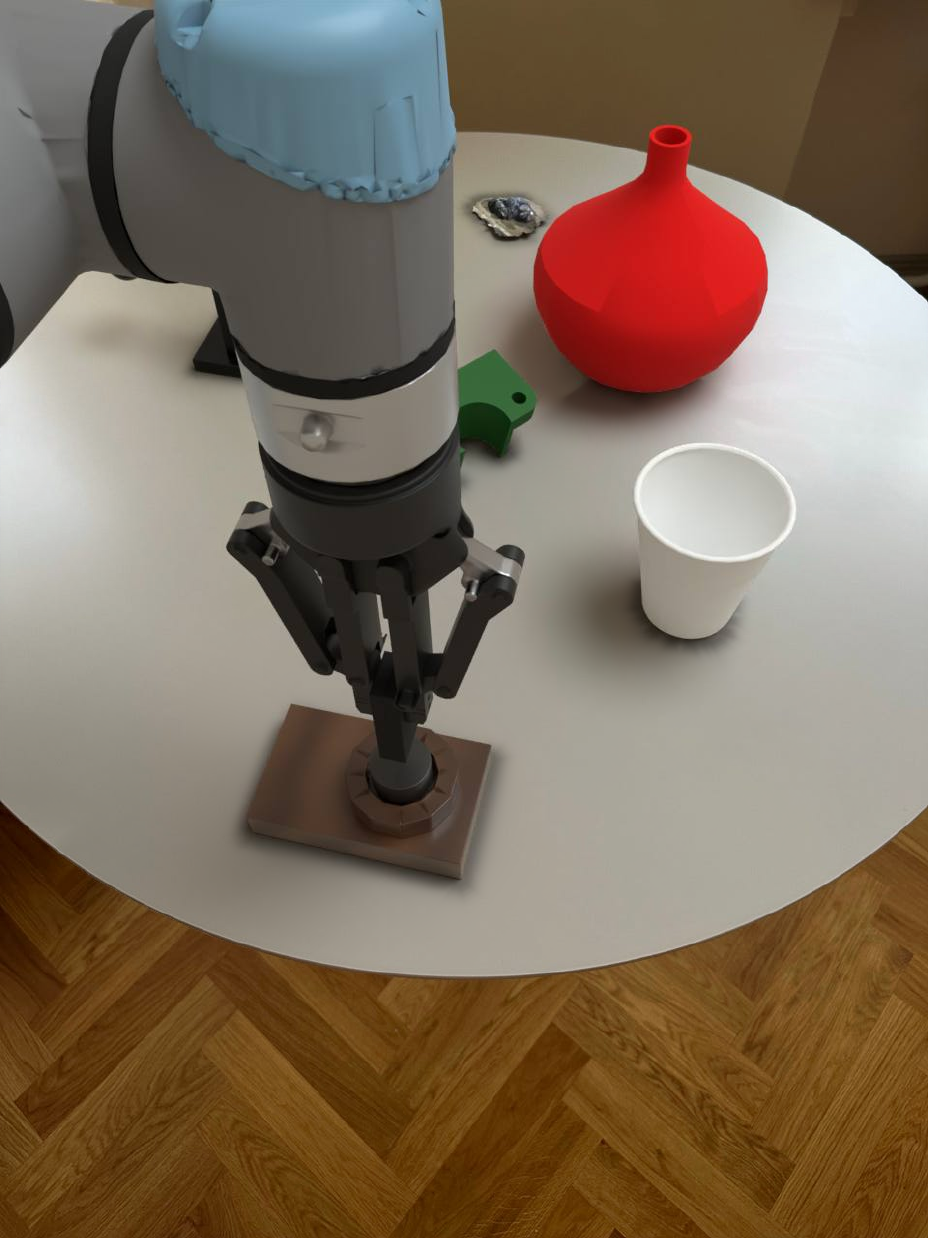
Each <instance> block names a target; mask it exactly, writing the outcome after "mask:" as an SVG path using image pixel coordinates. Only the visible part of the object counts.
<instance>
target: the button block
mask: <svg viewBox="0 0 928 1238" xmlns="http://www.w3.org/2000/svg"><path fill="white" fill-rule="evenodd" d="M414 737H416V738H418V739H419V740H421V741H422V742H423V743H424V744H425V745H426V746H427V747H428V749H429V751H430V753H431V757H432V770H433V778H432V782H431V785H430V787H429V789H428V790H427V791H426V792H425V793H424V794H423V795H422V796H421V797H419V798H418V799H416V800H414V801H411V802H407V803H395V802H391V801H388V800H386V799H384V798H383V797H381V796H380V795H379V794H378V793H377V792H376V790H375V789H374V787H373V784H372V780H371V774H370V768H369V759H370V755H371V753H372V751H373V749H374V748H375V746H376V745H377V738H376V732H375V726H374V721H373V719H368V718H364V717H358V716H354V715H348V714H344V713H339V712H334V711H330V710H329V711H328V710H324V709H320V708H315V707H309V706H305V705H299V704H295V703H290V705H289V707H288V710H287V712H286V715H285V717H284V720H283V723H282V725H281V728H280V731H279V732H278V735H277V738H276V740H275V743H274V745H273V748H272V750H271V753H270V755H269V758H268V761H267V763H266V766H265V768H264V769H263V774H262V776H261V778H260V780H259V783H258V785H257V788H256V791H255V793H254V795H253V799H252V800H251V803H250V806H249V809H248V811H247V814H246V819H247V821H248V824H249V827H250V829H251V832H252V833H255V834H259V835H265V836H268V837H272V838H273V837H274V838H277V839H281V840H286V841H291V842H295V843H298V844H303V845H308V846H312V847H316V848H321V849H325V850H330V851H335V852H339V853H343V854H346V855H347V854H348V855H352V856H356V857H360V858H366V859H370V860H375V861H379V862H383V863H387V864H392V865H396V866H401V867H404V868H405V867H406V868H410V869H414V870H419V871H421V872H427V873H431V874H436V875H440V876H445V877H449V878H454V879H458V880H462V878H463V875H464V870H465V866H466V862H467V859H468V856H469V855H468V854H469V851H470V846H471V843H472V839H473V835H474V832H475V827H476V823H477V820H478V815H479V812H480V807H481V804H482V801H483V795H484V792H485V788H486V785H487V780H488V777H489V773H490V768H491V764H492V744H489V743H486V742H485V743H484V742H479V741H476V740H470V739H466V738H461V737H455V736H451V735H446V734H441V733H436V732H435V731H434V730H432V729H431V728H428V727H423V726H419V725H418V726H417V729H416V732H415V735H414Z"/></svg>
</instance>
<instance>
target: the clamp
mask: <svg viewBox="0 0 928 1238" xmlns="http://www.w3.org/2000/svg"><path fill="white" fill-rule="evenodd" d="M458 389H459V412H458V417H457V419H458V422H459V434H460V440H462V439H478V440H480V441H483V442H485V443H487V444H489V445H490V446H491V447H492V448H493V449H494V450H495V451H496V453H498V455H499V457H500V458H502V457H503V456H505V455H507V451H508V449H509V445H510V442H511V440H512V439H511V438H512V436H513V433H514V430H516V429H518V428H519V427H521V426H522V425H524V424H526V423H528V422H529V421H530V420H531V419H532V417H533V416H534V412H535V409H536V406H537V404H538V396H537V394H536V392H535V390H534V389H533V388H532V387H531V386H530V385H529V384H528V383H527V382H526V381H525V379H524V378H522V376H520V374H519V373H518V372H517V371H516V370H515V369H514V368H513V367H512V366H511V365H510V363H508V361H506V359H505V358H504V357H503V356H502V355H501V354H500V353H499V352H498V351H497V350H496V348H493V349H491V350H490V351H488V352H486V353H484V354H482V355H481V356H479V357H477V358H475V359H473V360H472V361H470V362H468V363H466V364H464V365H463V366H462V367H458ZM465 455H466V449H465V448H463V447H462V446H460V470H461V469H462V465H463V461H464V457H465Z"/></svg>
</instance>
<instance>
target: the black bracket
mask: <svg viewBox="0 0 928 1238" xmlns="http://www.w3.org/2000/svg"><path fill="white" fill-rule="evenodd" d="M210 290H211V294H212V297H213V301H214V306H215V310H216V314H217V317H216V319H215V320H214V322H213V324H212V325H211V328H210V329H209V331H208V332H207V335H206V336H205V337H204V339H203V341H202V342H201V345H200V346H199V347H198V350H197V351H196V353H195V354H194V356H193V358H192V364H193V367H194V370H195V371H197V372H203V373H209V374H216V375H222V376H228V377H235V378H240V379H242V376H241V372H240V367H239V363H238V359H237V355H236V351H235V348H234V344H233V339H232V335H231V333H230V330H229V326H228V322H227V319H226V315H225V311H224V307H223V304H222V301H221V298H220V295H219V293H218V292H216V291H214V290H213V289H211V288H210Z"/></svg>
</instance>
